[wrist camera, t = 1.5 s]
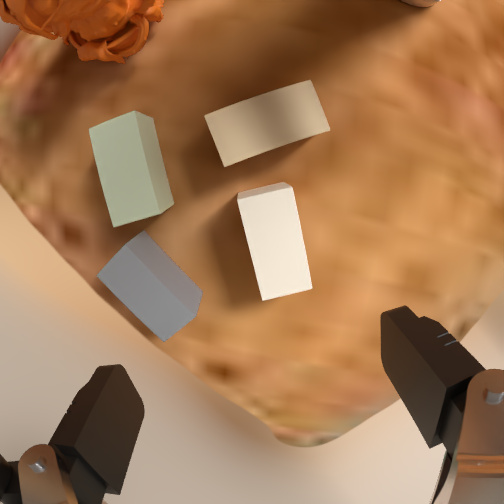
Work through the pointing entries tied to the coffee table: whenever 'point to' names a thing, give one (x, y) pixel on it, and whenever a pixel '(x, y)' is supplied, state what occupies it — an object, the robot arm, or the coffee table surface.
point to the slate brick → (152, 286)
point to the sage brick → (131, 168)
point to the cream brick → (275, 240)
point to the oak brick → (266, 122)
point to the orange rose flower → (87, 24)
